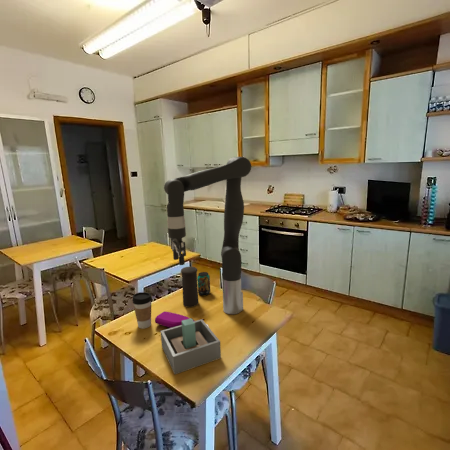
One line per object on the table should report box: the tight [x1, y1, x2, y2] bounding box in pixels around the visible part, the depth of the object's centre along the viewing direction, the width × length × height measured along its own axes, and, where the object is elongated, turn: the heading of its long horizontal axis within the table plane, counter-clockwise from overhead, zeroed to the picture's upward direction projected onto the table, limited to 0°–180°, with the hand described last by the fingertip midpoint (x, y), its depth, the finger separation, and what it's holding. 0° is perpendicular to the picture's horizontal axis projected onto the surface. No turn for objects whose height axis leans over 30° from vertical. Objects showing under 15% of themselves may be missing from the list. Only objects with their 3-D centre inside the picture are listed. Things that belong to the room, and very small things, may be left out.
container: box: [180, 266, 200, 308], centre depth 147 cm, size 9×9×20 cm
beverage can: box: [197, 271, 211, 296], centre depth 160 cm, size 7×7×12 cm
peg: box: [182, 317, 196, 349], centre depth 108 cm, size 4×4×12 cm
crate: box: [160, 318, 222, 375], centre depth 109 cm, size 18×18×7 cm
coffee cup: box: [132, 291, 152, 330], centre depth 128 cm, size 8×8×15 cm
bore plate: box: [170, 331, 208, 354], centre depth 109 cm, size 12×12×3 cm
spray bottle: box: [154, 311, 210, 328], centre depth 128 cm, size 3×11×24 cm
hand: (178, 262), depth 124 cm, fingers open, 8 cm apart
